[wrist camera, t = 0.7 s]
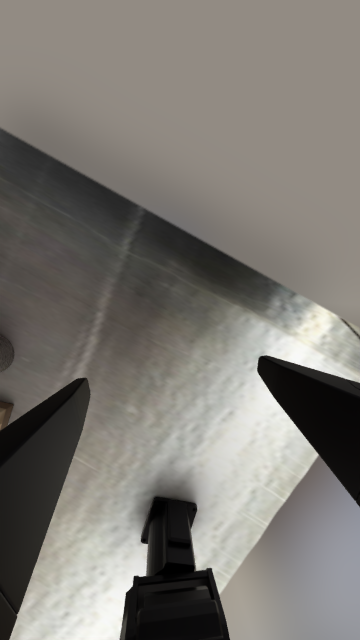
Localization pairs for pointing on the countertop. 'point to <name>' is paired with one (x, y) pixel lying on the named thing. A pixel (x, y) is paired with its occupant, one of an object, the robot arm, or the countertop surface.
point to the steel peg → (5, 353)
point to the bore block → (5, 414)
